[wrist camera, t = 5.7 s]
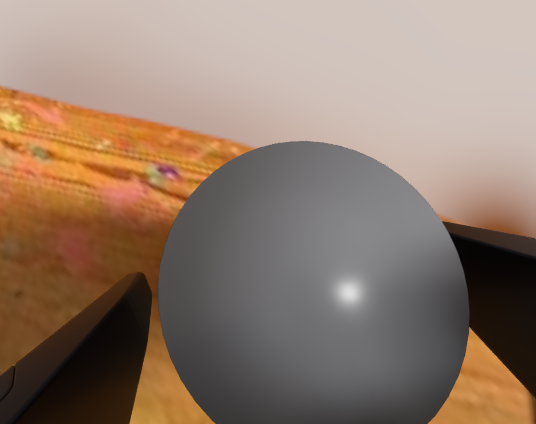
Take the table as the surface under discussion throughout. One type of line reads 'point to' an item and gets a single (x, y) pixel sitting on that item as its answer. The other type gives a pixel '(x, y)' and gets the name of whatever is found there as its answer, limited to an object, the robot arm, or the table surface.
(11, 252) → the table surface
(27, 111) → the table surface
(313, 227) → the grey cylinder
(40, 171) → the table surface
